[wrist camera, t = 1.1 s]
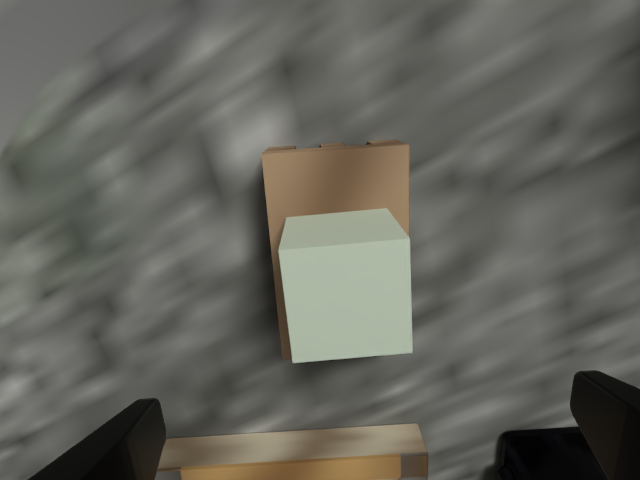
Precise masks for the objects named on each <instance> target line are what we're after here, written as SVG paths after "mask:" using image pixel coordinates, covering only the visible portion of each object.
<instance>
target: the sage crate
mask: <svg viewBox="0 0 640 480" xmlns="http://www.w3.org/2000/svg"><path fill="white" fill-rule="evenodd" d="M278 252H279V259H280V267H281V275H282V283H283V291H284V298H285V306H286V314H287V322H288V329H289V337H290V345H291V353H292V361H293V363H300V362H312V361H323V360H335V359H346V358H357V357H369V356H380V355H392V354H403V353H413V352H412V311H411V270H410V238H409V237H408V235H407V234H406V233H405V231H404V230H403V229H402V227H401V226H400V225H399V223H398V222H397V221H396V219H395V218H394V217H393V215H392V214H391V213H390V211H389V210H388V209H387V208H383V209H372V210H361V211H350V212H339V213H328V214H317V215H306V216H296V217H286V221H285V225H284V229H283V233H282V238H281V242H280V246H279V250H278Z"/></svg>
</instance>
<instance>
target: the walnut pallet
mask: <svg viewBox="0 0 640 480" xmlns="http://www.w3.org/2000/svg"><path fill="white" fill-rule="evenodd" d="M261 156H262V165H263V175H264V185H265V195H266V205H267V215H268V224H269V234H270V244H271V254H272V264H273V274H274V283H275V293H276V303H277V313H278V323H279V333H280V342H281V352H282V359H292V353H291V345H290V337H289V329H288V322H287V314H286V306H285V298H284V291H283V283H282V275H281V267H280V259H279V252H278V250H279V246H280V242H281V238H282V233H283V229H284V225H285V221H286V217H296V216H306V215H317V214H328V213H339V212H350V211H361V210H372V209H383V208H387V209H388V210H389V211H390V213H391V214H392V215H393V217H394V218H395V219H396V221H397V222H398V223H399V225H400V226H401V227H402V229H403V230H404V231H405V233H406V234H407V235H408V237H409V145H408V144H405V143H403V142H400V141H397V140H381V141H368V145H354V146H346V145H345V144H344V143H333V144H321V148H306V149H296V146H285V147H269V148H268V149H267V150H266V151H264V152H263V153H262V154H261Z"/></svg>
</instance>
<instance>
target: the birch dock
mask: <svg viewBox="0 0 640 480" xmlns="http://www.w3.org/2000/svg"><path fill="white" fill-rule="evenodd" d="M155 480H428V453H427V450H426V447H425V444H424V441H423V438H422V435H421V432H420V429H419V426H418V423H414V424H398V425H382V426H366V427H349V428H333V429H317V430H301V431H284V432H268V433H252V434H236V435H220V436H203V437H187V438H171V439H167V440H166V442H165V445H164V447H163V450H162V454H161V458H160V462H159V466H158V469H157V473H156V477H155Z"/></svg>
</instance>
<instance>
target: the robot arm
mask: <svg viewBox="0 0 640 480" xmlns="http://www.w3.org/2000/svg"><path fill="white" fill-rule="evenodd" d="M570 408H571V412H572V415H573V417H574V418H575V420H576V422H577V424H578V426H579V427H570V428H553V429H537V430H521V431H510V432H507V433H506V434H505V435H504V436H503V439H502V449H501V459H500V466H499V467H498V469H497V471H496V480H640V389H638V388H636V387H634V386H632V385H629V384H627V383H625V382H622V381H620V380H618V379H616V378H613V377H611V376H609V375H606V374H604V373H602V372H599V371H595V370H592V371H579V372H577V373H576V374H575V375H574V379H573V386H572V393H571V399H570ZM165 438H166V428H165V423H164V419H163V414H162V410H161V405H160V402H159V400H158V399H156V398H149V399H139V400H137V401H135V402H134V403H132V404H131V405H130V406H128V407H127V408H125V409H124V410H123V411H121V412H120V413H119V414H117V415H116V416H114V417H113V418H112V419H110V420H109V421H108V422H106V423H105V424H103V425H102V426H101V427H99V428H98V429H97V430H95V431H94V432H93V433H91V434H90V435H88V436H87V437H86V438H84V439H83V440H82V441H80V442H79V443H77V444H76V445H75V446H73V447H72V448H71V449H69V450H68V451H66V452H65V453H64V454H62V455H61V456H60V457H58V458H57V459H55V460H54V461H53V462H51V463H50V464H49V465H47V466H46V467H44V468H43V469H42V470H40V471H39V472H38V473H36V474H35V475H34V476H32V477H31V478H29V479H28V480H155V477H156V473H157V469H158V466H159V462H160V458H161V454H162V450H163V447H164V443H165ZM513 440H514V441H513ZM512 441H513V442H512Z"/></svg>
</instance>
